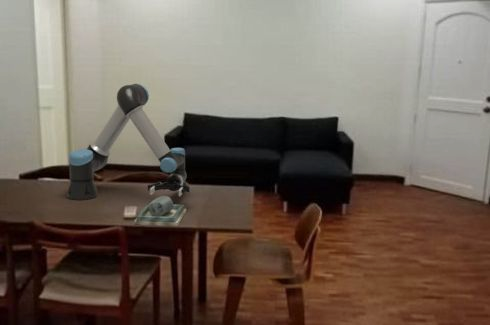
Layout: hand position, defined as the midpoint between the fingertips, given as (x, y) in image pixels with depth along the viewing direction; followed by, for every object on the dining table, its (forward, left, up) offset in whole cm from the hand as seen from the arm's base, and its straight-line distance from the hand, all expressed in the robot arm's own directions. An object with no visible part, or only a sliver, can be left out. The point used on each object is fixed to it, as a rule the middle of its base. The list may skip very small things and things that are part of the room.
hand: (165, 192), depth 255 cm
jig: (0, -9, -10) cm, 13 cm away
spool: (0, -9, -8) cm, 12 cm away
